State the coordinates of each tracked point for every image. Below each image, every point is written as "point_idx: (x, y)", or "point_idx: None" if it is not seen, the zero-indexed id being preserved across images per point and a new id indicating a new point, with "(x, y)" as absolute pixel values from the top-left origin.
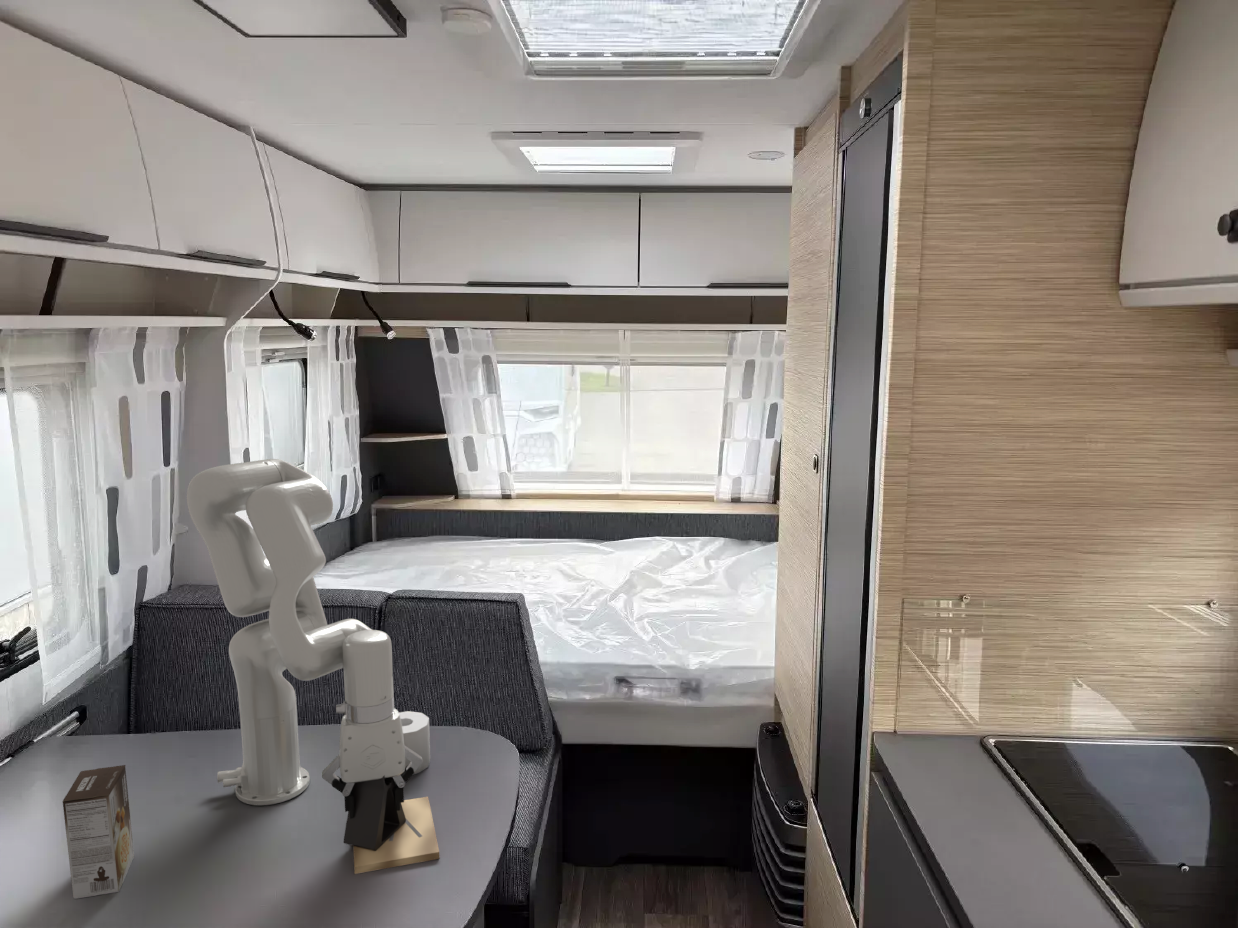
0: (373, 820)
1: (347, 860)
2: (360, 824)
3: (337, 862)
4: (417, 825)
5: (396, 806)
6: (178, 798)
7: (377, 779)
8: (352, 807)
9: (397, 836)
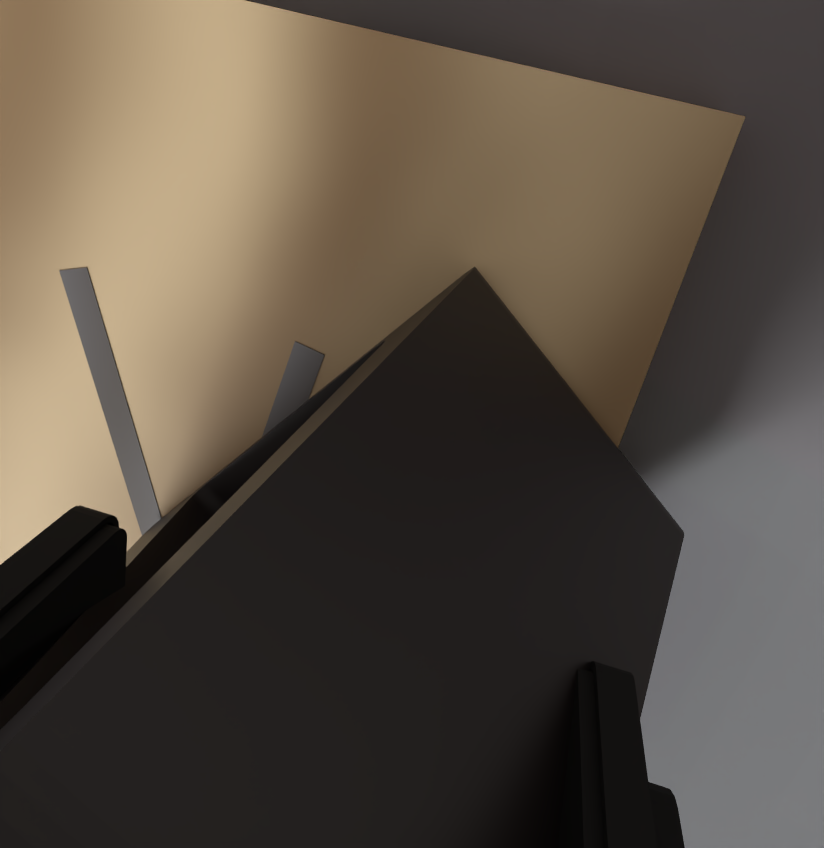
0: (401, 468)
1: (696, 356)
2: (539, 546)
3: (780, 375)
4: (82, 431)
5: (86, 547)
6: None
7: None
8: (606, 778)
9: (248, 379)
